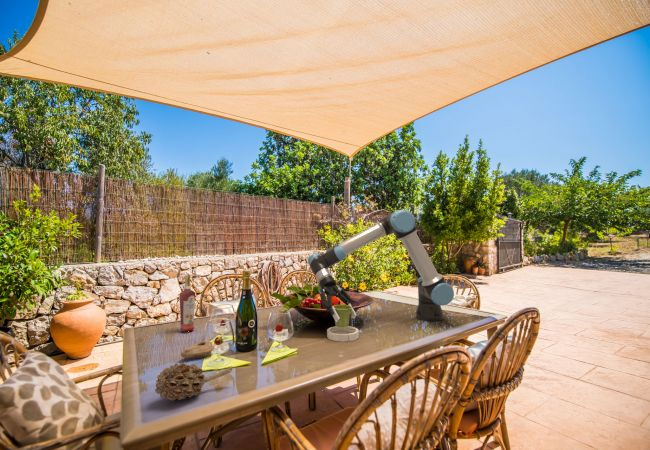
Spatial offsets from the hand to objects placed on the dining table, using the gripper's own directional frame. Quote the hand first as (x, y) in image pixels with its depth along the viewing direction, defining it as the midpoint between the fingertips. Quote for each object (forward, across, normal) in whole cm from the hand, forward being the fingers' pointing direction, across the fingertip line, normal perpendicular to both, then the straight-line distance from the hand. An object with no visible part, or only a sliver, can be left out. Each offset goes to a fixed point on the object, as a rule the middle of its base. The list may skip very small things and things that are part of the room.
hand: (346, 318), depth 144 cm
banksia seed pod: (+15, +68, +2) cm, 70 cm away
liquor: (-34, +55, -48) cm, 80 cm away
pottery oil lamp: (-7, +60, -20) cm, 64 cm away
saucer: (+4, 0, -8) cm, 9 cm away
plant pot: (+1, 0, -5) cm, 5 cm away
